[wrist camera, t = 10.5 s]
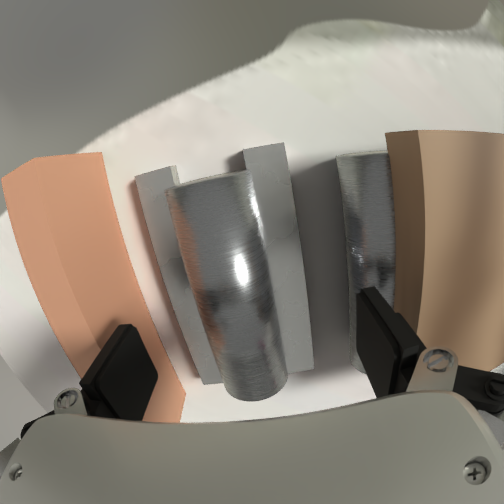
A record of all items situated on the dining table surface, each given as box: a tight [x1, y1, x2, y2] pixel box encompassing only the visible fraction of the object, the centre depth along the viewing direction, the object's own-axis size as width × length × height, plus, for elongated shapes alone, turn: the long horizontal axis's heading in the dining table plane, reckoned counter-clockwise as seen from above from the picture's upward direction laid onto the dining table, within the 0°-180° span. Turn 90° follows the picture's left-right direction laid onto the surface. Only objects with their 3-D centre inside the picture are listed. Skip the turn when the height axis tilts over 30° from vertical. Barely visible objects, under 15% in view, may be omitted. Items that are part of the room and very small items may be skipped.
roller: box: [164, 170, 288, 401], centre depth 14 cm, size 12×4×4 cm, turn 11°
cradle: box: [135, 143, 314, 385], centre depth 16 cm, size 8×14×1 cm, turn 11°
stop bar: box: [1, 152, 186, 423], centre depth 14 cm, size 2×18×6 cm, turn 11°
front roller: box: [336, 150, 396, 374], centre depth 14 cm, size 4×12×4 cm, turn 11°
